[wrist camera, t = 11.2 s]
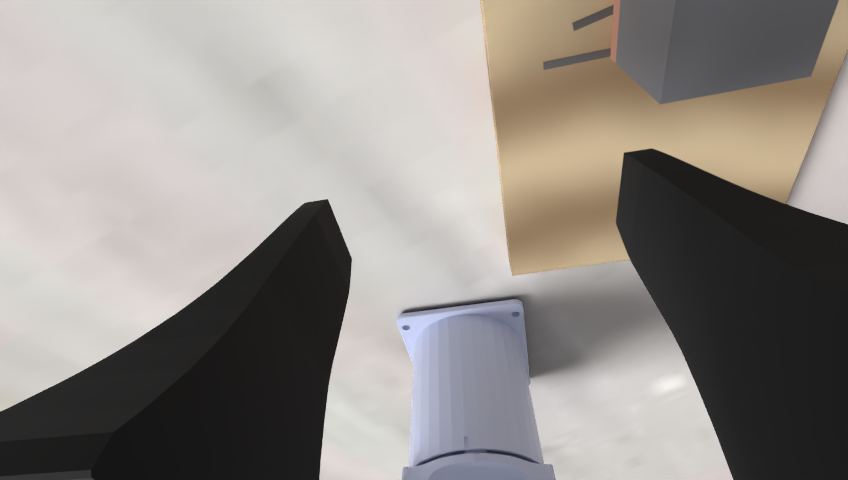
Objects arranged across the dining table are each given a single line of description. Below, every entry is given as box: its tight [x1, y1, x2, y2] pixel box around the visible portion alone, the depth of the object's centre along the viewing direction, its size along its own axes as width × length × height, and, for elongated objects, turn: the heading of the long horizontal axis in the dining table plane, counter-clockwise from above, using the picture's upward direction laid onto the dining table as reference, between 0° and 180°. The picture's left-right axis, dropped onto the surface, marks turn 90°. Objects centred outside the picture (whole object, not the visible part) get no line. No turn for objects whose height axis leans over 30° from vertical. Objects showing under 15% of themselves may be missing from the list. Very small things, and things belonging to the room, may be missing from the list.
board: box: [480, 0, 848, 276], centre depth 17 cm, size 18×13×1 cm
